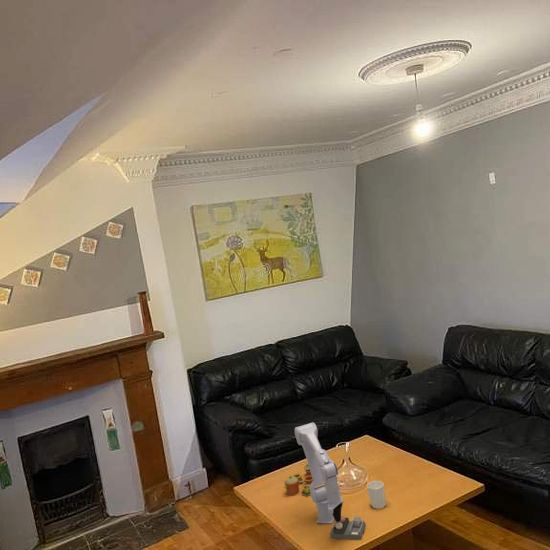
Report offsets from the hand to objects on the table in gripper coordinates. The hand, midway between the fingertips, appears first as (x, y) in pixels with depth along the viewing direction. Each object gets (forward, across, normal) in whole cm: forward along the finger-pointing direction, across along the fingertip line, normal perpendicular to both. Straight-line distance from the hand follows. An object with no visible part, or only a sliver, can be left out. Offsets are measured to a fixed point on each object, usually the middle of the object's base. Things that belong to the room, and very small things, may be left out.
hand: (338, 520), depth 230 cm
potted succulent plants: (+7, +43, +32) cm, 54 cm away
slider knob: (+4, +5, -7) cm, 10 cm away
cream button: (+4, 0, 0) cm, 4 cm away
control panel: (+7, +3, -3) cm, 8 cm away
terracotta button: (+4, +5, 0) cm, 6 cm away
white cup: (+7, +25, -12) cm, 29 cm away
